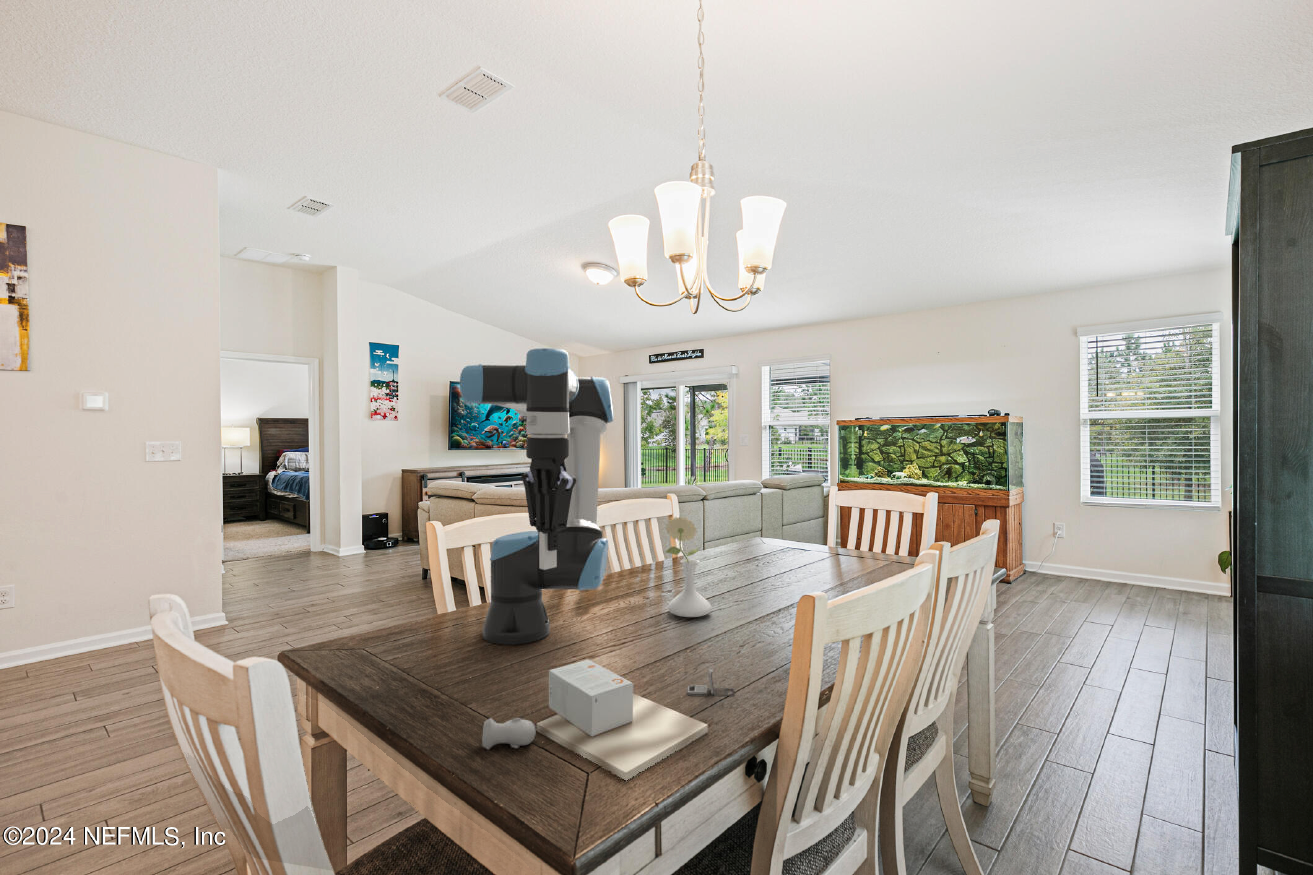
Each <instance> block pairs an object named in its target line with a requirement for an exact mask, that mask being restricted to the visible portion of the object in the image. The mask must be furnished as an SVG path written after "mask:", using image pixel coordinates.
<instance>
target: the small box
mask: <svg viewBox="0 0 1313 875" xmlns="http://www.w3.org/2000/svg"><path fill="white" fill-rule="evenodd" d="M633 694H634V683H633V682H631V681H630V680H627V679H625V678H624V677H622V676H621V675H619V674H617V673H615V672H612V671H611V670H609V669H607V668H605V667H604V666H601V665H600V664H598V663H596V662H594V661H592V660H590V659H585V660H582V661H578V662H575V663H570V664H567V665H563V666H560V667H557V668H553V669H549V670H548V708H549V709H550V710H551V711H554V712H555V713H556V714H559V715H561V716H562V717H564V718H565V719H567V720H568V721H570V722H571V723H572V724H574V725H575V726H577V727H578V728H580V729H581V730H583V731H584V732H586V733H587V734H588V735H590V736H591V737H593V736H595V735H598V734H601V733H603V732H606V731H609V730H611V729H614V728H617V727H619V726H622V725H625V724H627V723H630V722H633Z"/></svg>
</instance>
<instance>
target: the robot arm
mask: <svg viewBox="0 0 1313 875" xmlns="http://www.w3.org/2000/svg"><path fill="white" fill-rule="evenodd" d="M570 366H571V364H570V361H569V353H568V351H566V350H565V349H562V348H561V349H560V348H559V349H558V348H532V349H529V350H528V352H526V358H525V365H521V364H520V365H518V364H517V365H506V364H505V365H501V364H500V365H497V364H495V365H493V364H492V365H489V364H486V365H485V364H476V365H466V366H465V367H464V368H463V369H462V370H461V373H460V376H459V391H460V392H459V393H460V395H461V397H462V400H463V401H464V402H465V403H467V404H475V405H476V404H477V405H492V406H493V405H494V406H500V407H504V408H508V409H512V410H513V411H515V412H516V413H517V414H519V415H521V416H523V417H526V434H528V435H529V437H527V439H526V440H525V443H526V444H525V445H526V446H525V449H526V450H525V451H526V452H525V455H526V458H528V459H529V460H531V461H530V465H529V471H527V472H524V473H521V475H520V477H521V481H522V484H523V487H524V492H525V499H526V505H527V513H528V519H529V525H530V526H531V527H535V529H536V530H529V531H528V530H527V531H521V532H514V533H510V534H505V535H501V536H499V537H497V538H496V539H494V540H493V541H492V543H491V548H490V549H491V550H490V557H489V560H490V603H489V606H488V609H487V613H486V616H485V620H484V622H483V626H482V637H483V639H484V641H487V642H489V643H492V644H498V645H509V646H510V645H511V646H512V645H521V644H529V643H533V642H536V641H539V640H542V639H545V637H547V636H548V635H549V634H550V632H551V631H550V627H551V626H550V623H551V622H550V620H549V616H548V613H547V611H546V608H545V605H544V604H545V603H544V601H543V590H561V591H562V590H565V591H566V590H567V591H568V590H571V591H572V590H578V591H579V592H581V591H586V590H596V589H598V588H600V587H601V585H602V583H603V580H604V577H605V573H606V568H607V561H608V555H609V554H608V552H609V540H608V539H607V538H604V537H603V530H602V529H601V528H600V527H599V526H598V525H597V523H598V522H597V519H598V503H599V502H598V498H599V481H600V478H599V477H600V458H601V442H602V441H601V440H602V439H601V438H602V434H603V433H605V432H606V431H607V430H608V424H611V423H612V422H614V410H613V409H614V408H613V401H612V393H611V386H610V382H609V381H608V379H606V378H605V377H594V376H590V377H582V376H580V377H578V376H577V375H576V373H575V372H574V371H573V370H572V369H571V367H570Z"/></svg>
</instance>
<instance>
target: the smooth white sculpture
mask: <svg viewBox="0 0 1313 875" xmlns="http://www.w3.org/2000/svg"><path fill="white" fill-rule="evenodd" d="M536 732H537V728H536V726H535V724H534V722H532V721H531V720H529V719H528V720H527V719H522V718H520V717H515V718H513V719H510V720H507V721H506V722H504V723H498V722H496V721H495V720H494V719H493V718H492V717H489V718H488V719H486V720H485V721H484V722H483V727H482V735H481V736H482V742H481V743H482V744H481V745H482V747H483V748H485V749H487V750H488V751H489V750H491V748H492V747H494V746H495V745H498V744H508V745H510V747H511V748H513V747H514V748H513V749H518V748H520V746H522V747H523V746H527V745H529V744H531V743H532V742H533V741H534V740H535V737H536Z"/></svg>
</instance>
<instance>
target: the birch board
mask: <svg viewBox="0 0 1313 875" xmlns="http://www.w3.org/2000/svg"><path fill="white" fill-rule="evenodd" d="M536 732H538V733H539V734H542V736H545V737H546V738H548V739H550V740H552V741H554V742H555V743H557V744H559V745H560V746H562V747H564V748H566V749H568V750H569V751H571V750H572V751H571V752H573V751H574V752H573V753H575V754H576V753H577V754H576V755H578V754H580V755H581V756H580V755H579V756H580V757H582V756H583V757H582V758H584V759H585V758H587V759H589V760H591V761H592V762H594V763H596V764H598V765H599V766H602V767H604V768H605V769H607V770H608V771H611V772H613V773H614V774H616V775H617V776H619V777H621V778H622V779H624V780H628V779H629V780H631V779H633V778H634V777H637V776H638V775H639V774H640V773H639V772H641V773H643V772H644V771H646V770H647V768H648V767H649V768H651V767H652V766H654V765H656V764H658V763H660V762H661V761H663V760H665V759H666V758H667V756H668V757H669V756H671V755H673V754H675V753H676V752H678V751H680V750H681V749H683V748H685V747H686V746H688V745H689V744H691V743H693V742H694V741H696V740H698V739H699V738H701V737H703V736H705V735H706V734H707V733H709V724H706V723H704V722H702V721H700V720H698V719H695V718H692V717H690V716H688V715H685V714H683V713H680V712H678V711H676V710H673V709H671V708H668V707H666V706H664V705H661V704H659V703H657V702H655V701H652V700H650V699H647V698H644V697H643V696H640V695H638V694H636V693H633V722H630V723H627V724H625V725H622V726H619V727H617V728H614V729H611V730H609V731H606V732H603V733H601V734H598V735H595V736H593V737H591V736H590V735H588V734H587V733H586V732H584V731H583V730H581V729H580V728H578V727H577V726H575V725H574V724H572V723H571V722H570V721H568V720H567V719H565V718H564V717H562V716H561V715H559V714H558V713H556V714H555V715H553V716H550V717H548V718H545V719H544V720H541V721H539V722H537V723H536ZM692 741H693V742H692ZM675 751H676V752H675ZM670 754H671V755H670ZM587 759H586V760H587ZM662 759H663V760H662ZM589 760H588V761H589ZM591 761H590V762H591ZM592 762H591V763H592ZM657 762H658V763H657ZM594 763H593V764H594ZM655 763H656V764H655ZM596 764H595V765H596ZM598 765H597V766H598ZM599 766H598V767H599ZM650 766H651V767H650ZM649 768H648V769H649ZM605 769H604V770H605ZM645 769H646V770H645ZM607 770H606V771H607ZM608 771H607V772H608ZM642 771H643V772H642ZM638 773H639V774H638ZM614 774H613V775H614ZM637 774H638V775H637ZM617 776H616V777H617ZM633 776H634V777H633ZM619 777H618V778H619ZM632 777H633V778H632ZM621 778H620V779H621ZM630 778H631V779H630ZM622 779H621V780H622ZM624 780H623V781H624ZM629 780H628V781H629Z"/></svg>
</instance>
